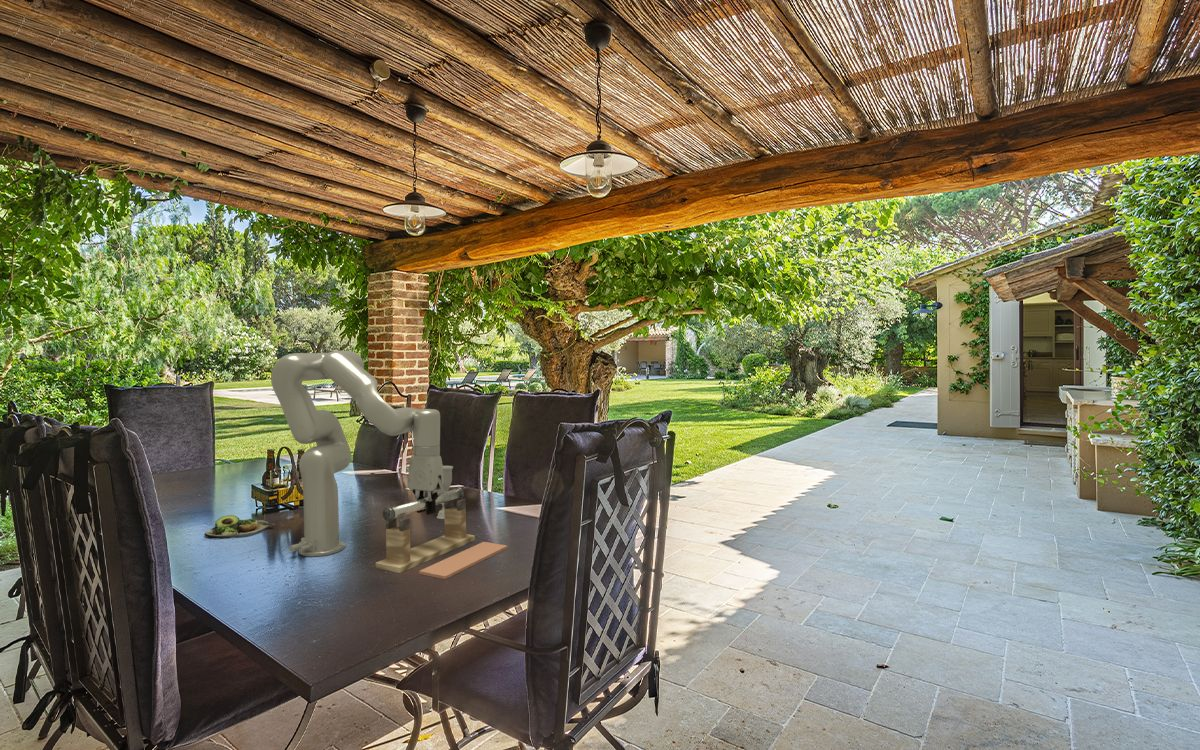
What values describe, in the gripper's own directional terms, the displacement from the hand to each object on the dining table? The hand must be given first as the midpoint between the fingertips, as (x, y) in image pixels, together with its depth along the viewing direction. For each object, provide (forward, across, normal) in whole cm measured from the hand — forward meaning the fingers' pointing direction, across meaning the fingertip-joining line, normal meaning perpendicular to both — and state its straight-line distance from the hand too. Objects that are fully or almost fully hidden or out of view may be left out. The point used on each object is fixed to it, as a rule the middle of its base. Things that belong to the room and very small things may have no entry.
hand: (426, 512), depth 179 cm
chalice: (+13, -22, +33) cm, 42 cm away
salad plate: (+15, -73, -11) cm, 75 cm away
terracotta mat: (+12, +15, 0) cm, 19 cm away
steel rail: (-3, 0, 0) cm, 3 cm away
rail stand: (+12, +1, 0) cm, 12 cm away
